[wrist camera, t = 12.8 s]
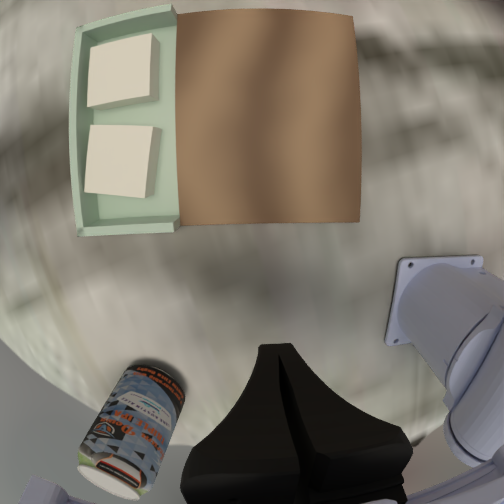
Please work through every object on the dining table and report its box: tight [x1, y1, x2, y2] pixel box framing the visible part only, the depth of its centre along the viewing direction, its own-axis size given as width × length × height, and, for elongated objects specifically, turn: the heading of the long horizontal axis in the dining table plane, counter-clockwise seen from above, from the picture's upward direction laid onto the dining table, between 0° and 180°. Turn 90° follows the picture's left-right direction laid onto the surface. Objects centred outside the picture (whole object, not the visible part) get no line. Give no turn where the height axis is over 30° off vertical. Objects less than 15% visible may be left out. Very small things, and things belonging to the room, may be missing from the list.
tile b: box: [87, 33, 160, 111], centre depth 16 cm, size 4×4×2 cm
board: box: [175, 9, 362, 226], centre depth 18 cm, size 12×15×1 cm
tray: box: [69, 4, 180, 237], centre depth 17 cm, size 7×15×3 cm, turn 1°
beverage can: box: [78, 365, 185, 500], centre depth 20 cm, size 6×7×12 cm
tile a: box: [84, 125, 162, 198], centre depth 18 cm, size 4×4×2 cm
